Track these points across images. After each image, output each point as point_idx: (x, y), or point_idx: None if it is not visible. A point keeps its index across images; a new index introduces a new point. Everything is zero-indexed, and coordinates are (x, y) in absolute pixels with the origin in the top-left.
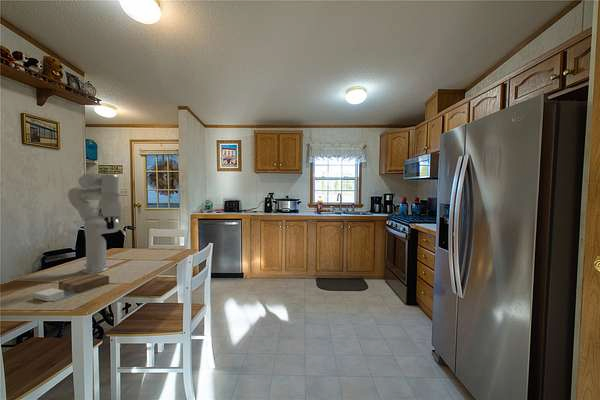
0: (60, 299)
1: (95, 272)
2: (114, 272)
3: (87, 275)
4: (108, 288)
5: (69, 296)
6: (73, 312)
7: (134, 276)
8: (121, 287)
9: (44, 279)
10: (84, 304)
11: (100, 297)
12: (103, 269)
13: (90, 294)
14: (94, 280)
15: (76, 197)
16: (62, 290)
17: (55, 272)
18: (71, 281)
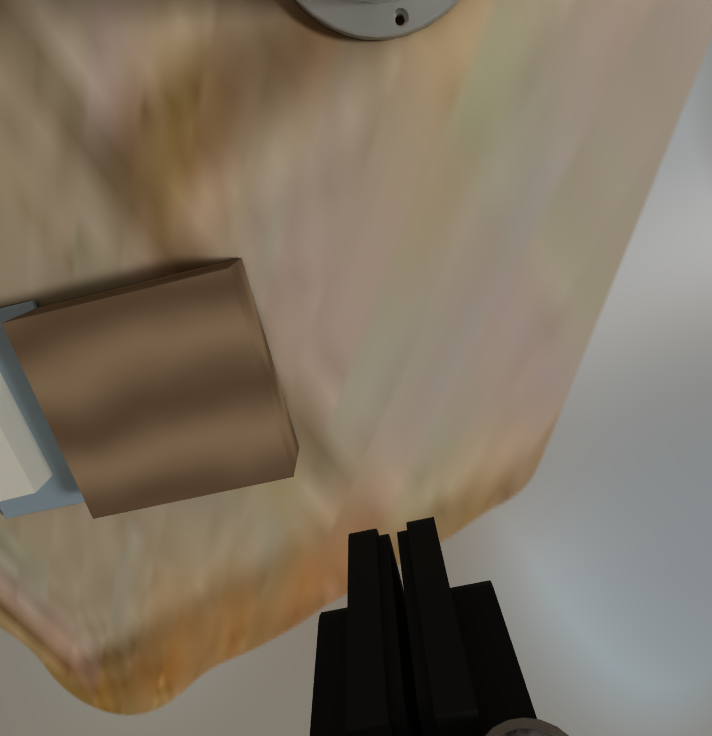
0: (34, 511)
1: (333, 29)
2: (448, 164)
3: (189, 328)
4: (267, 523)
5: (75, 503)
6: (71, 692)
7: (479, 420)
8: (322, 563)
9: None
10: (120, 646)
11: (195, 619)
12: (408, 16)
13: (169, 541)
14: (194, 497)
15: None
16: (27, 483)
17: None
18: (74, 398)
